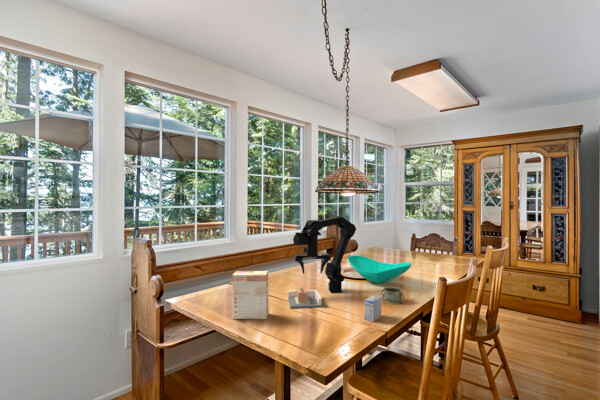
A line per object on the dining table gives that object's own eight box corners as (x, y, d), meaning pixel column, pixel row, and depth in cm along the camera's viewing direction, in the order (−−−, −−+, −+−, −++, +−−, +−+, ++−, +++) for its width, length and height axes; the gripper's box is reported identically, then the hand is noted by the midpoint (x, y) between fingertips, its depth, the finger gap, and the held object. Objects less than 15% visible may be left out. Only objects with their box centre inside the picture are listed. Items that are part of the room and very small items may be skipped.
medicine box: (372, 314, 139) (372, 295, 139) (381, 316, 136) (381, 297, 136) (364, 319, 133) (364, 299, 133) (373, 322, 130) (373, 302, 130)
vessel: (377, 301, 156) (377, 288, 155) (384, 296, 163) (384, 284, 162) (401, 306, 148) (401, 293, 148) (407, 301, 155) (407, 289, 155)
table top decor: (338, 281, 191) (338, 259, 191) (359, 272, 213) (359, 252, 212) (402, 293, 167) (402, 269, 166) (418, 282, 188) (418, 260, 188)
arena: (316, 297, 161) (316, 289, 161) (321, 307, 147) (321, 298, 147) (288, 298, 160) (288, 290, 160) (290, 308, 146) (290, 300, 146)
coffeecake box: (268, 313, 140) (268, 270, 140) (266, 319, 133) (266, 274, 133) (236, 312, 141) (235, 270, 140) (232, 319, 134) (231, 274, 133)
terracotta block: (307, 302, 150) (307, 292, 150) (298, 303, 150) (298, 292, 150) (305, 297, 158) (305, 287, 158) (296, 297, 158) (296, 287, 158)
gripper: (326, 241, 171) (326, 269, 172) (293, 242, 169) (293, 270, 170) (331, 244, 160) (331, 274, 161) (295, 245, 158) (295, 275, 159)
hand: (312, 273), depth 163 cm, fingers open, 9 cm apart
